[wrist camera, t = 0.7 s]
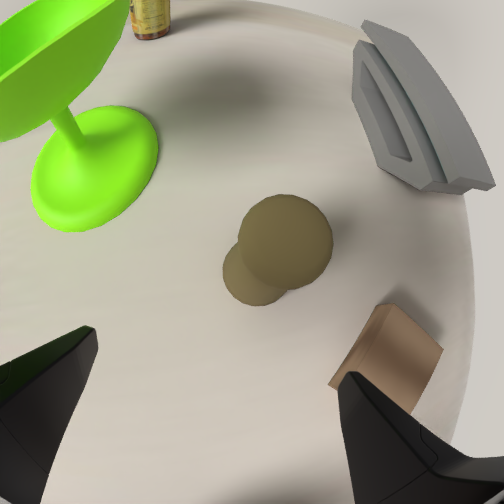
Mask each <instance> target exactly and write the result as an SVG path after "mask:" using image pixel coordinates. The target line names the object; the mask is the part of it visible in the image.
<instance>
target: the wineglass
mask: <svg viewBox="0 0 504 504" xmlns="http://www.w3.org/2000/svg"><path fill="white" fill-rule="evenodd" d="M129 7H130V0H37V1H35V2H33V3H31V4H30V5H28V6H26V7H25V8H23V9H21V10H20V11H19V12H17V13H15V14H14V15H12V16H11V17H10V18H8V19H7V20H6V21H4V22H3V23H2V24H0V142H5V141H8V140H11V139H14V138H18V137H20V136H22V135H23V134H25V133H27V132H29V131H31V130H33V129H35V128H37V127H38V126H40V125H42V124H44V123H45V122H47V121H48V120H51V122H52V123H53V125H54V127H55V128H56V130H57V131H56V132H55V133H54V134H53V135H52V136H51V137H50V139H49V140H48V141H47V142H46V144H45V145H44V147H43V149H42V150H41V152H40V154H39V156H38V157H37V160H36V163H35V166H34V169H33V172H32V179H31V195H32V201H33V205H34V207H35V209H36V211H37V213H38V215H39V217H40V218H41V219H42V220H43V221H44V222H45V223H46V224H48V225H49V226H50V227H51V228H54V229H57V230H60V231H63V232H83V231H86V230H90V229H93V228H96V227H99V226H102V225H103V224H105V223H107V222H108V221H110V220H112V219H113V218H115V217H117V216H118V215H120V214H121V213H122V212H123V211H124V210H125V209H126V208H127V207H128V206H129V205H131V204H132V203H133V202H134V201H135V200H136V199H137V197H138V196H139V195H140V193H141V192H142V190H143V189H144V188H145V186H146V185H147V184H148V182H149V180H150V177H151V175H152V173H153V170H154V168H155V166H156V161H157V155H158V149H159V147H158V141H157V134H156V132H155V130H154V128H153V127H152V125H151V123H150V121H149V120H148V119H146V118H145V117H144V116H143V115H142V114H140V113H139V112H138V111H135V110H132V109H130V108H127V107H123V106H104V107H97V108H94V109H91V110H88V111H85V112H83V113H81V114H79V115H77V116H75V117H73V115H72V113H71V111H70V110H69V108H68V105H69V104H70V103H71V102H72V101H73V100H74V99H75V98H76V97H77V96H78V95H79V94H80V93H81V92H82V91H84V90H85V89H86V88H87V87H88V86H89V85H90V83H91V82H92V81H93V80H94V79H95V77H96V76H97V75H98V74H99V73H100V71H101V70H102V68H103V66H104V64H105V63H106V61H107V59H108V57H109V56H110V54H111V52H112V51H113V49H114V47H115V46H116V44H117V43H118V41H119V39H120V38H121V35H122V31H123V28H124V25H125V22H126V19H127V17H128V14H129Z"/></svg>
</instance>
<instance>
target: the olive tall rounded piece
mask: <svg viewBox="0 0 504 504" xmlns="http://www.w3.org/2000/svg"><path fill="white" fill-rule="evenodd" d="M332 250H333V237H332V230H331V228H330V226H329V224H328V221H327V219H326V217H325V216H324V215H323V213H322V212H321V211H320V210H319V209H318V207H316V206H315V205H314V204H312V203H311V202H309V201H308V200H306V199H303V198H300V197H297V196H294V195H284V194H278V195H275V196H271V197H267V198H265V199H264V200H262V201H261V202H259V203H258V204H256V205H255V206H253V207H252V208H251V209H250V210H249V212H248V213H247V214H246V216H245V217H244V219H243V221H242V224H241V227H240V231H239V234H238V242H237V243H236V244H235V245H234V246H233V247H232V248H231V250H230V251H229V253H228V254H227V255H226V257H225V261H224V264H223V279H224V282H225V285H226V287H227V289H228V290H229V292H230V293H231V294H232V295H233V297H234V298H236V299H237V300H239V301H240V302H242V303H244V304H248V305H251V306H265V305H268V304H270V303H273V302H275V301H276V300H278V299H279V298H280V297H281V296H282V295H283V294H284V293H285V292H286V291H287V290H291V289H297V288H300V287H303V286H305V285H307V284H310V283H312V282H313V281H314V280H315V279H317V278H318V277H319V276H320V275H321V274H322V273H323V272H324V270H325V268H326V266H327V265H328V263H329V261H330V259H331V256H332Z"/></svg>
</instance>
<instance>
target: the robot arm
mask: <svg viewBox="0 0 504 504" xmlns="http://www.w3.org/2000/svg"><path fill="white" fill-rule="evenodd" d="M97 352H98V341H97V334H96V330H95V329H94V328H92V327H89V326H86V325H85V326H82V327H80V328H78V329H76V330H74V331H72V332H69V333H67V334H65V335H63V336H61V337H59V338H57V339H55V340H53V341H51V342H49V343H47V344H44V345H42V346H40V347H38V348H36V349H34V350H32V351H30V352H28V353H26V354H24V355H22V356H20V357H18V358H16V359H13V360H12V361H11V362H10V361H9V362H7V363H5V364H3V365H1V366H0V504H40V502H41V499H42V495H43V492H44V489H45V486H46V482H47V479H48V476H49V475H48V474H49V473H50V470H51V467H52V464H53V462H54V459H55V456H56V453H57V451H58V448H59V445H60V443H61V440H62V438H63V435H64V433H65V431H66V428H67V426H68V423H69V421H70V419H71V416H72V414H73V412H74V410H75V407H76V405H77V403H78V401H79V399H80V396H81V394H82V392H83V390H84V388H85V385H86V383H87V380H88V377H89V374H90V371H91V368H92V366H93V363H94V360H95V357H96V355H97ZM338 400H339V411H340V422H341V428H342V433H343V438H344V443H345V449H346V454H347V459H348V465H349V470H350V476H351V482H352V488H353V494H354V501H355V504H504V456H501V457H488V458H472V457H469V456H466V455H464V454H463V453H461V452H459V451H458V450H456V449H455V448H453V447H452V446H450V445H449V444H447V443H446V442H444V441H443V440H441V439H440V438H438V437H437V436H435V435H434V434H433V433H432V432H430V431H429V430H428V429H426V428H425V427H424V426H423V425H422V424H420V423H419V422H418V421H417V420H415V419H414V418H413V417H412V416H411V415H409V414H408V413H407V412H406V411H405V410H403V409H402V408H401V407H400V406H399V405H397V404H396V403H395V402H394V401H393V400H391V399H390V398H389V397H388V396H387V395H386V394H384V393H383V392H382V391H381V390H380V389H378V388H377V387H376V386H375V385H374V384H373V383H371V382H370V381H369V380H368V379H367V378H365V377H364V376H363V375H362V374H361V373H360V372H358V371H348V372H347V373H346V374H345V376H344V377H343V379H342V381H341V382H340V384H339V386H338Z"/></svg>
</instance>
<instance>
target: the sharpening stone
mask: <svg viewBox="0 0 504 504" xmlns="http://www.w3.org/2000/svg"><path fill="white" fill-rule="evenodd" d="M361 28H362V29H363V31H364V32H365V33H366V34H367V36H368V37H369V38H370V39H371V41H372V42H373V43H374V44H371V43H368V42H365V41H362V40H359V41H358V42H357V44H356V46H355V48H354V50H353V83H352V101H353V103H354V105H355V108H356V110H357V112H358V115H359V117H360V119H361V122H362V124H363V127H364V129H365V132H366V134H367V137H368V140H369V142H370V145H371V148H372V151H373V153H374V156H375V159H376V162H377V165H378V167H380V168H382V169H383V170H385V171H387V172H389V173H391V174H393V175H394V176H396V177H398V178H400V179H401V180H403V181H405V182H407V183H408V184H410V185H412V186H413V187H415V188H417V189H418V190H422V191H432V192H441V193H449V194H457V195H462V194H464V193H465V192H467V191H469V190H470V189H472V188H474V189H479V190H484V191H488V190H489V189H491V188H493V187H494V186H496V184H495V182H494V179H493V177H492V174H491V171H490V169H489V166H488V164H487V162H486V159H485V157H484V155H483V152H482V150H481V148H480V146H479V144H478V142H477V140H476V138H475V136H474V134H473V132H472V130H471V128H470V126H469V124H468V122H467V121H466V118H465V117H464V115H463V113H462V111H461V110H460V108H459V106H458V105H457V103H456V102H455V100H454V98H453V97H452V95H451V93H450V92H449V90H448V89H447V87H446V86H445V84H444V83H443V81H442V80H441V78H440V77H439V76H438V74H437V73H436V71H435V70H434V69H433V67H432V66H431V65H430V63H429V62H428V61H427V59H426V58H425V57H424V55H423V54H422V53H421V52H420V51H419V49H418V48H417V47H416V46H415V45H414V43H413V42H412V41H411V40H410V39H409V38H408V37H407V36H405V35H403V34H400V33H398V32H396V31H393V30H391V29H388V28H386V27H384V26H381V25H378V24H376V23H373V22H370V21H367V20H364V22H363V24H362V26H361Z"/></svg>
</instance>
